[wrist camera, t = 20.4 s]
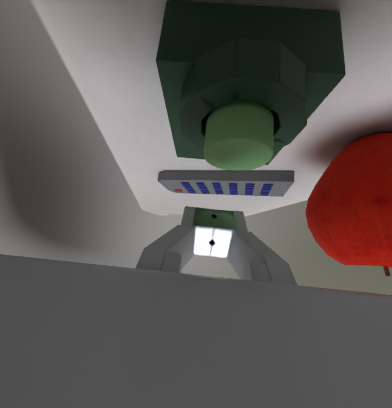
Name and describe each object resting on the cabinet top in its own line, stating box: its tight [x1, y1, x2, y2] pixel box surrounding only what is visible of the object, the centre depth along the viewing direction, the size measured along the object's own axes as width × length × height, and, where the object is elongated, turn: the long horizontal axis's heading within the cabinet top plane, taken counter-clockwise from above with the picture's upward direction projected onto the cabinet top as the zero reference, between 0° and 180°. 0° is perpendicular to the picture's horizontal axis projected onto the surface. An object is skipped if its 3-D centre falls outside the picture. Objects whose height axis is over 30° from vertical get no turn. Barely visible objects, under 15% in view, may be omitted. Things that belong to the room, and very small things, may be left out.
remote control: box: [158, 171, 294, 196], centre depth 34 cm, size 8×23×2 cm, turn 103°
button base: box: [156, 0, 346, 165], centre depth 13 cm, size 11×9×6 cm
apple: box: [306, 133, 392, 276], centre depth 19 cm, size 12×12×13 cm
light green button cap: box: [204, 101, 274, 171], centre depth 10 cm, size 4×4×2 cm
